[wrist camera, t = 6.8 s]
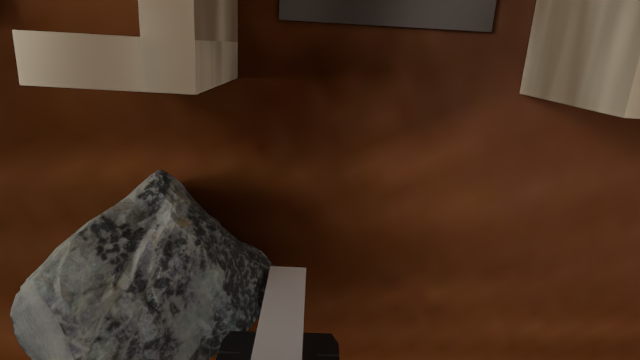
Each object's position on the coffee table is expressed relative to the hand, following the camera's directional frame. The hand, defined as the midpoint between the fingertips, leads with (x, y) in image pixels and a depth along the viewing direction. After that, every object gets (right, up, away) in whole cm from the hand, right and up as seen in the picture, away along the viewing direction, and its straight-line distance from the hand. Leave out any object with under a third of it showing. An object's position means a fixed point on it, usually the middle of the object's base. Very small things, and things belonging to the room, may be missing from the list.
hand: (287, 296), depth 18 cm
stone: (-6, +1, +4) cm, 7 cm away
